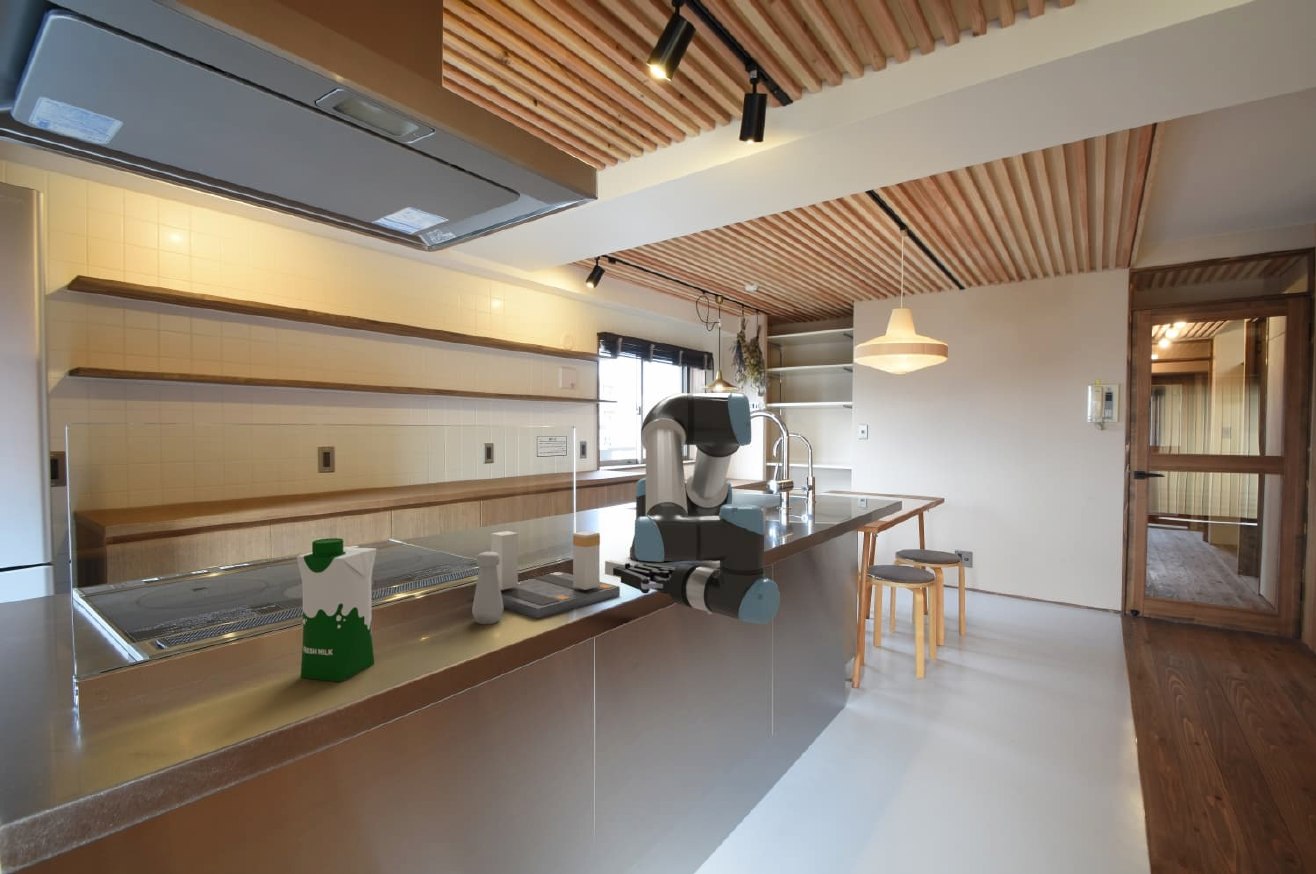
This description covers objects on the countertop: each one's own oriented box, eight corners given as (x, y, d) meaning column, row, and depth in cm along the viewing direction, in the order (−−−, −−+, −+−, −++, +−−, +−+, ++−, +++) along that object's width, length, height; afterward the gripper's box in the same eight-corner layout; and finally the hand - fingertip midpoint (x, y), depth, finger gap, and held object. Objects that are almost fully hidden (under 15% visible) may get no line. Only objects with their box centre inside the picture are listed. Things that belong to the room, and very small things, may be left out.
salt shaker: (484, 628, 110) (484, 557, 110) (465, 622, 113) (465, 553, 113) (510, 620, 115) (510, 552, 114) (491, 614, 118) (491, 548, 118)
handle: (587, 582, 133) (587, 530, 133) (599, 586, 130) (599, 533, 130) (572, 586, 130) (572, 533, 130) (585, 589, 127) (585, 535, 127)
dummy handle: (507, 583, 132) (507, 531, 132) (517, 586, 130) (517, 533, 130) (491, 586, 129) (491, 533, 129) (501, 590, 127) (501, 535, 127)
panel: (556, 578, 146) (556, 570, 146) (619, 595, 132) (619, 586, 132) (475, 597, 130) (475, 587, 130) (537, 619, 115) (537, 608, 115)
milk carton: (290, 680, 87) (289, 542, 87) (335, 657, 96) (335, 532, 96) (342, 685, 85) (342, 544, 85) (384, 661, 94) (383, 534, 94)
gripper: (673, 615, 104) (583, 591, 120) (718, 600, 114) (629, 579, 130) (674, 572, 104) (583, 553, 120) (718, 560, 114) (629, 544, 129)
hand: (607, 566), depth 125 cm, fingers closed
